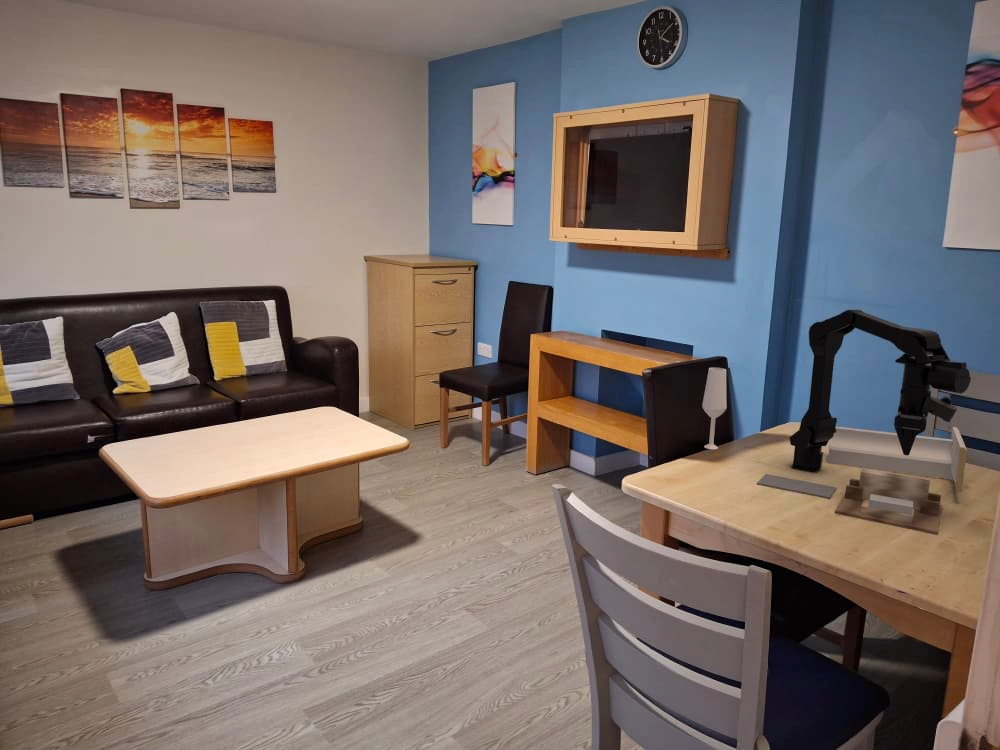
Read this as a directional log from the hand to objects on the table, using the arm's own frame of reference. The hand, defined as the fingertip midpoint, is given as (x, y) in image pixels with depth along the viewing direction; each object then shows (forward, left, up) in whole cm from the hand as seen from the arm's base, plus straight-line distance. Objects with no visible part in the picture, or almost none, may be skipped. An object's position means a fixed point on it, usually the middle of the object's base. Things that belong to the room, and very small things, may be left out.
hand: (907, 450), depth 168 cm
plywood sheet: (-2, -4, -12) cm, 13 cm away
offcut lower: (-2, -14, -12) cm, 18 cm away
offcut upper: (-1, -14, -10) cm, 17 cm away
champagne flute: (-50, +15, -13) cm, 54 cm away
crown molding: (-5, +27, -13) cm, 30 cm away
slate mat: (-23, -4, -13) cm, 26 cm away
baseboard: (+9, +22, -12) cm, 27 cm away
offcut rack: (-2, -4, -13) cm, 13 cm away
